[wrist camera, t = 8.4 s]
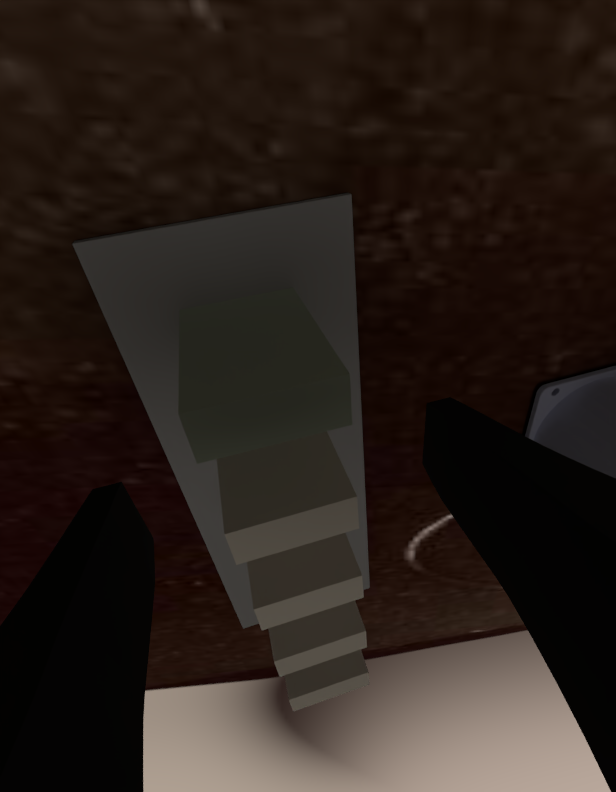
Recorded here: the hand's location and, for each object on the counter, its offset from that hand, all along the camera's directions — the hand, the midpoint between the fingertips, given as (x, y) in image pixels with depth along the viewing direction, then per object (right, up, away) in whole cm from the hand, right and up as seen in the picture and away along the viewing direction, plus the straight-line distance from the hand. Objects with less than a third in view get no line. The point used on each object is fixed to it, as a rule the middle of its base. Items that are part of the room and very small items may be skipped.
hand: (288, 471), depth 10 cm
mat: (-1, -3, +13) cm, 14 cm away
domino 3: (-1, -3, +13) cm, 13 cm away
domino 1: (-2, +5, +7) cm, 9 cm away
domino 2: (-2, +1, +10) cm, 10 cm away
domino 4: (-1, -7, +16) cm, 17 cm away
